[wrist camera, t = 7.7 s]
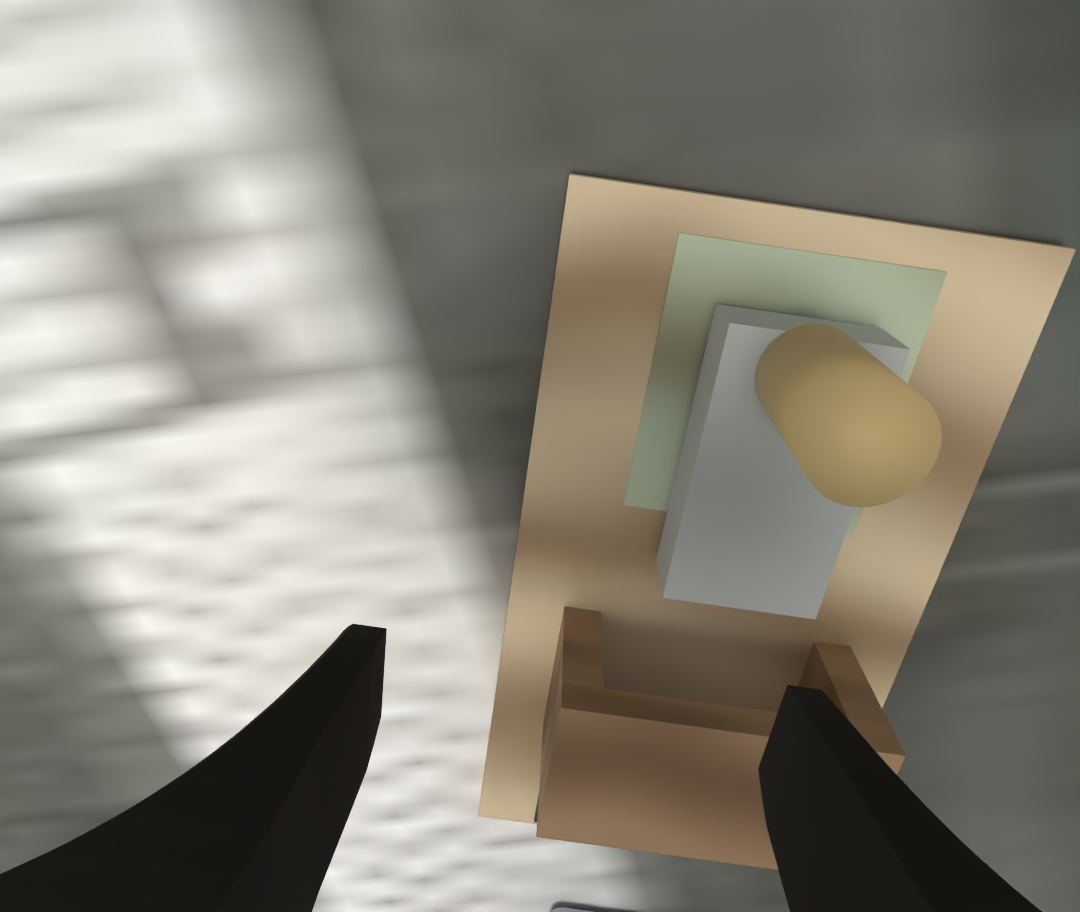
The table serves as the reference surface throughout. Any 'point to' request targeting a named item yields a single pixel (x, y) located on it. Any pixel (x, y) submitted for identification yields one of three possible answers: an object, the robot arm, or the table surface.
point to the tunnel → (672, 756)
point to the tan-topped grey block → (787, 457)
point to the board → (662, 418)
